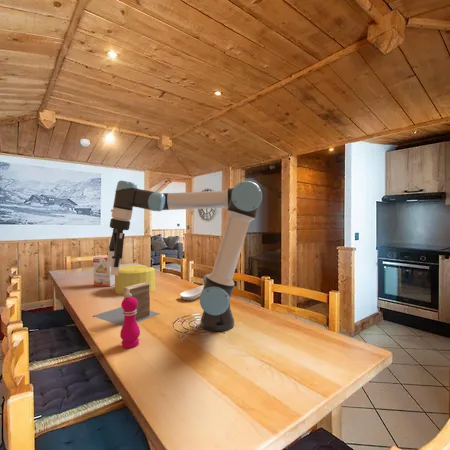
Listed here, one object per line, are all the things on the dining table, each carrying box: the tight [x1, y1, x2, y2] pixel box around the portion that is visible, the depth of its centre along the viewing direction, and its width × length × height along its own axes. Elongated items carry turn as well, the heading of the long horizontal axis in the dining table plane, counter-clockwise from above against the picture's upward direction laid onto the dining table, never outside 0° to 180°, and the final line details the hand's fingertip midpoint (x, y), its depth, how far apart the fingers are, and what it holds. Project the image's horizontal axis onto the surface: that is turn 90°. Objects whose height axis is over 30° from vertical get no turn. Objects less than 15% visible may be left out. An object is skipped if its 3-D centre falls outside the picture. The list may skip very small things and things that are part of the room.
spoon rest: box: [179, 284, 204, 301], centre depth 175 cm, size 24×12×7 cm, turn 123°
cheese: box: [114, 264, 156, 296], centre depth 196 cm, size 26×26×15 cm
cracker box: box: [92, 255, 115, 288], centre depth 208 cm, size 14×6×21 cm, turn 73°
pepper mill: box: [119, 293, 141, 349], centre depth 110 cm, size 7×7×20 cm
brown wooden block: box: [123, 283, 151, 321], centre depth 138 cm, size 4×12×16 cm, turn 145°
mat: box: [92, 306, 161, 327], centre depth 144 cm, size 26×21×1 cm
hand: (111, 270), depth 117 cm, fingers open, 13 cm apart
